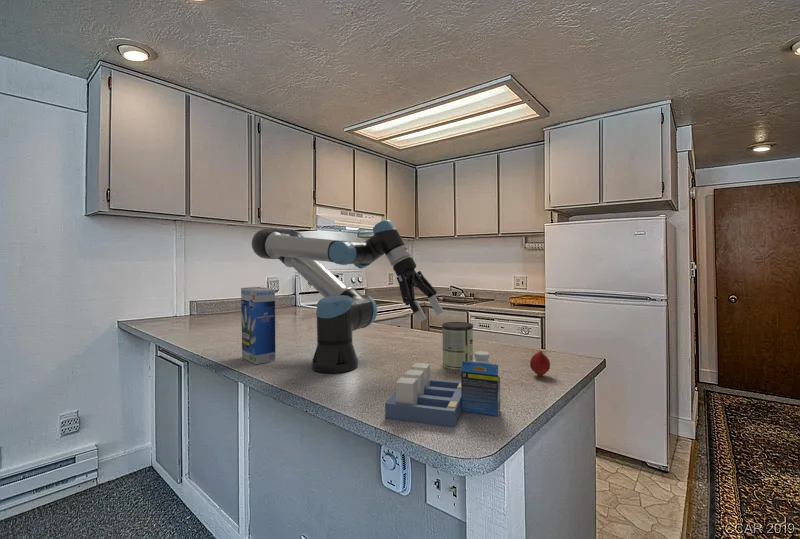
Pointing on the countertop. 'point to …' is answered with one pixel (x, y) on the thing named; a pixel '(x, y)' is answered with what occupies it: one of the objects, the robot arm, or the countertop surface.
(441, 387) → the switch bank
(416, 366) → the tab far
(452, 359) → the coffee can
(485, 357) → the supplement bottle
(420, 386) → the tab middle
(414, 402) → the tab near
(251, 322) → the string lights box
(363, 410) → the countertop surface
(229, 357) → the countertop surface
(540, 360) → the onion
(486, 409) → the label tape box
